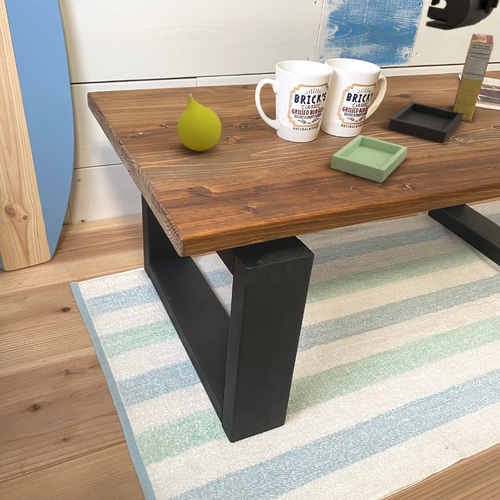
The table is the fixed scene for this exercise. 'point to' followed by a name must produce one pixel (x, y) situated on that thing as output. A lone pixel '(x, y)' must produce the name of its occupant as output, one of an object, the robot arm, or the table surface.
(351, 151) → the sage tray
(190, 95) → the ornament
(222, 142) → the table surface
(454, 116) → the charcoal tray
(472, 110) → the candy box
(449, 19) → the end cap
